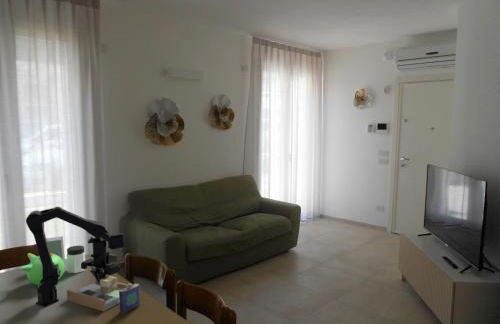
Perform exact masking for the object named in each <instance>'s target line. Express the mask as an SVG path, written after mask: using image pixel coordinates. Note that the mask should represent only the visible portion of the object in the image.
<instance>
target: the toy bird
mask: <svg viewBox="0 0 500 324" xmlns="http://www.w3.org/2000/svg"><path fill="white" fill-rule="evenodd" d="M50 254H51V258H52V261H53V263H54V264H55V265H56V264H58V265H59V270H60V271H61V273H60V277H59V280H60V279H61V278H62V276H63V275H64V273H65V265H64V262H63V260H62V259H61V258H60V257H59V256H57V255H55V254H52V253H50ZM27 258H28V259H29V260H30V262H29V263H28V264H25V265H23V266H21V267H20V268H19V269H20V270H21V271H24V272H26V276H27V280H28V281H29V282H30V283H31V284H33V285H35V286H39V282H40V281H41V280H42V278H43V275H42V263H41V259H40V256H39V255H38V256H37V255H35V254H33V253H31V252H29V253H27Z"/></svg>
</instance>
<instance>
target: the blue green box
mask: <svg viewBox="0 0 500 324" xmlns="http://www.w3.org/2000/svg"><path fill="white" fill-rule="evenodd" d="M127 284H128V286H127V288H125V289H123V288H122V289H121V290H120V291H119V299H120V303H119V309H120V311H119V312H120V314H125V313H128V312H131V311H133V310H134V309H137V308H138V307H139V306H141V299H140V298H141V297H140V295H141V294H140V284H139V283H134V284H133V283H130V282H128V283H127Z"/></svg>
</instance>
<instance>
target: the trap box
mask: <svg viewBox="0 0 500 324" xmlns="http://www.w3.org/2000/svg"><path fill="white" fill-rule="evenodd" d="M128 285H129V284H128V283H125V282H124V283H123V282H120V281H117V287H118V288H117V289H115V290H113V291H112V292H110V293H107V292H104V291H100V285H99V283H98V282H97V280H96V279H95V282H92V283H91V284H88V285H86V286H84V287H81V288H79V289H77V290H72V289H67V290H66V298H67V301H68V302H71V303H74V304H78V305H80V306H81V305H82V306H84V307H87V308H91V309H93V310H97V311H100V312H106V311H108V310H110V309H111V308H113V307H114V306H115V307H116V306H117V305H118V304H119V305H120V299H119V291H120V290H121V289H122V288H123V289H125V288H127V286H128Z"/></svg>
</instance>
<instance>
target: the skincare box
mask: <svg viewBox="0 0 500 324" xmlns="http://www.w3.org/2000/svg"><path fill="white" fill-rule="evenodd" d="M46 239H47V243H48V247H49V250H50V253H52V254H55V255H57V256H59V257H60V258H61V259H62V260H63V262H64V266H65V265H66V256H65V248H64V247H65V246H64V237H63V236H55V237H46Z"/></svg>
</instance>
